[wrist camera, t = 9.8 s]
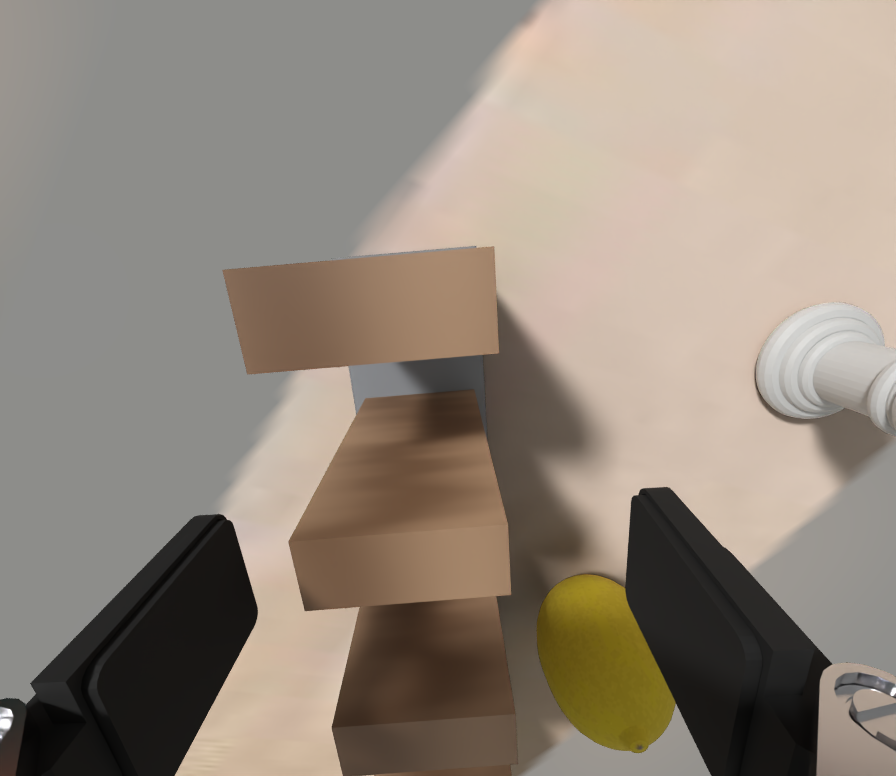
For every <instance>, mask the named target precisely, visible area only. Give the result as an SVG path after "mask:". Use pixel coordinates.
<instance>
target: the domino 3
mask: <svg viewBox="0 0 896 776" xmlns="http://www.w3.org/2000/svg"><path fill="white" fill-rule="evenodd" d="M332 732H333V736H334V740H335V744H336V748H337V753H338V757H339V761H340V765H341V769H342V774H343V776H363V775H376V774H390V773H403V772H417V771H430V770H444V769H457V768H471V767H484V766H498V765H511V764H518V758H517V736H516V714H515V708H514V702H513V696H512V689H511V683H510V677H509V671H508V665H507V659H506V653H505V646H504V640H503V634H502V628H501V622H500V616H499V609H498V603H497V597H496V596H491V597H478V598H465V599H453V600H440V601H427V602H414V603H402V604H389V605H376V606H364V607H360V608H359V612H358V617H357V621H356V625H355V630H354V634H353V638H352V642H351V647H350V651H349V655H348V660H347V664H346V668H345V673H344V677H343V681H342V685H341V690H340V694H339V698H338V703H337V707H336V711H335V716H334V720H333V724H332Z"/></svg>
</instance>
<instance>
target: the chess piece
mask: <svg viewBox="0 0 896 776" xmlns="http://www.w3.org/2000/svg"><path fill="white" fill-rule="evenodd" d="M756 382H757V386H758V389H759V392H760V394H761V396H762V397H763V398H764V400H765V401H766V402H767V403H768V404H769V405H770V406H771V407H772V408H773V409H775V410H776V411H778V412H779V413H781V414H783V415H786V416H790V417H795V418H802V419H814V418H821V417H825V416H828V415H832V414H834V413H836V412H839V411H841V410H843V409H844V408H847V409H850V410H853V411H855V412H858V413H861V414H863V415H866V416H869V417H870V419H871V421H872V422H873V423H874V424H875V425H876V426H877V427H878V428H879V429H881V430H882V431H883V432H885V433H887V434H890V435H893V436H896V349H895V348H890V347H885V342H884V336H883V332H882V329H881V327H880V325H879V324H878V322H877V321H876V319H875V318H874V317H873V316H872V315H871V314H869V313H868V312H866V311H865V310H863V309H861V308H859V307H857V306H854V305H851V304H847V303H841V302H831V303H823V304H818V305H814V306H810V307H807V308H804V309H802V310H800V311H798V312H796V313H794V314H793V315H791V316H790V317H788V318H787V319H786V320H784V321H783V322H782V323H781V324H780V325H779V326H778V327H776V328H775V330H774V331H773V332H772V333H771V334H770V336H769V337H768V339H767V340H766V341H765V343H764V345H763V347H762V349H761V351H760V354H759V357H758V360H757V365H756Z"/></svg>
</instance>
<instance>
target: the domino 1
mask: <svg viewBox="0 0 896 776" xmlns="http://www.w3.org/2000/svg"><path fill="white" fill-rule="evenodd" d="M223 274H224V278H225V282H226V287H227V291H228V295H229V300H230V304H231V308H232V312H233V316H234V321H235V325H236V328H237V333H238V337H239V341H240V346H241V350H242V354H243V358H244V362H245V366H246V371H247V374H258V373H270V372H282V371H294V370H306V369H318V368H330V367H342V366H354V365H366V364H378V363H390V362H402V361H414V360H426V359H438V358H449V357H461V356H473V355H485V354H497V353H499V341H498V319H497V298H496V276H495V254H494V246H493V247H482V248H470V249H459V250H447V251H435V252H424V253H412V254H401V255H389V256H378V257H366V258H354V259H343V260H331V261H320V262H308V263H296V264H285V265H273V266H262V267H250V268H239V269H227V270H223Z"/></svg>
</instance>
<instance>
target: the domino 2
mask: <svg viewBox="0 0 896 776" xmlns="http://www.w3.org/2000/svg"><path fill="white" fill-rule="evenodd" d="M289 546H290V551H291V555H292V559H293V563H294V567H295V572H296V576H297V580H298V584H299V588H300V593H301V597H302V601H303V605H304V609H305V611H313V610H325V609H338V608H351V607H364V606H376V605H389V604H402V603H414V602H427V601H440V600H453V599H465V598H478V597H491V596H504V595H511V580H510V558H509V535H508V522H507V518H506V514H505V510H504V506H503V502H502V498H501V494H500V490H499V486H498V482H497V478H496V474H495V470H494V466H493V462H492V458H491V454H490V450H489V446H488V442H487V438H486V434H485V430H484V426H483V422H482V418H481V414H480V410H479V406H478V402H477V398H476V394H475V390H474V389H471V390H459V391H447V392H435V393H423V394H411V395H399V396H387V397H375V398H365V400H364V402H363V404H362V405H361V407H360V409H359V411H358V413H357V415H356V417H355V419H354V420H353V422H352V424H351V426H350V428H349V430H348V432H347V433H346V435H345V437H344V439H343V441H342V443H341V445H340V447H339V448H338V450H337V452H336V454H335V456H334V458H333V460H332V461H331V463H330V465H329V467H328V469H327V471H326V473H325V475H324V476H323V478H322V480H321V482H320V484H319V486H318V488H317V490H316V491H315V493H314V495H313V497H312V499H311V501H310V503H309V504H308V506H307V508H306V510H305V512H304V514H303V516H302V518H301V519H300V521H299V523H298V525H297V527H296V529H295V531H294V532H293V534H292V536H291V538H290V540H289Z"/></svg>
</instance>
